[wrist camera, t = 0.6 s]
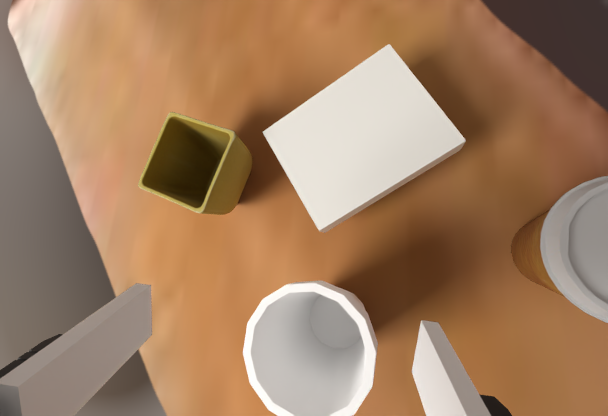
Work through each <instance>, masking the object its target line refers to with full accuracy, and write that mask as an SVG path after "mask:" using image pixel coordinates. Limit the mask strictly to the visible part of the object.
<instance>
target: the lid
mask: <svg viewBox="0 0 608 416" xmlns="http://www.w3.org/2000/svg"><path fill="white" fill-rule="evenodd" d="M263 134H264V136H265V137H266V139H267V141H268V143H269V144H270V146H271V148H272V150H273V151H274V153H275V155H276V157H277V158H278V160H279V162H280V164H281V165H282V167H283V169H284V171H285V172H286V174H287V176H288V178H289V179H290V181H291V183H292V185H293V186H294V188H295V190H296V191H297V193H298V195H299V197H300V198H301V200H302V202H303V204H304V205H305V207H306V209H307V211H308V212H309V214H310V216H311V218H312V219H313V221H314V223H315V225H316V226H317V228H318V230H319V231H321V232H324V233H325V232H327V231H329V230H330V229H332V228H334V227H335V226H337V225H338V224H340V223H342V222H343V221H345V220H347V219H348V218H350V217H352V216H353V215H355V214H356V213H358V212H360V211H361V210H363V209H365V208H366V207H368V206H370V205H371V204H373V203H375V202H376V201H378V200H379V199H381V198H383V197H384V196H386V195H388V194H389V193H391V192H393V191H394V190H396V189H398V188H399V187H401V186H402V185H404V184H406V183H407V182H409V181H411V180H412V179H414V178H416V177H417V176H419V175H420V174H422V173H424V172H425V171H427V170H429V169H430V168H432V167H434V166H435V165H437V164H439V163H440V162H442V161H443V160H445V159H447V158H448V157H450V156H452V155H453V154H455V153H457V152H458V151H460V150H461V148H462V147H463V145H464V143H465V142H466V140H465V138H464V137H463V136H462V135H461V133H460V132H459V131H458V130H457V128H456V127H455V126H454V125H453V123H452V122H451V121H450V120H449V118H448V117H447V116H446V115H445V113H444V112H443V111H442V110H441V108H440V107H439V106H438V105H437V103H436V102H435V101H434V99H433V98H432V97H431V96H430V94H429V93H428V92H427V91H426V89H425V88H424V87H423V86H422V84H421V83H420V82H419V81H418V79H417V78H416V77H415V76H414V74H413V73H412V72H411V71H410V69H409V68H408V67H407V66H406V64H405V63H404V62H403V61H402V59H401V58H400V57H399V56H398V54H397V53H396V52H395V50H394V49H393V48H392V47H391V45H390V44H388V45H387V46H385V47H384V48H382V49H381V50H379V51H378V52H377V53H375V54H374V55H372V56H371V57H369V58H368V59H367V60H365V61H364V62H362V63H361V64H359V65H358V66H356V67H355V68H354V69H352V70H351V71H349V72H348V73H346V74H345V75H344V76H342V77H341V78H339V79H338V80H336V81H335V82H333V83H332V84H331V85H329V86H328V87H326V88H325V89H323V90H322V91H320V92H319V93H318V94H316V95H315V96H313V97H312V98H310V99H309V100H308V101H306V102H305V103H303V104H302V105H300V106H299V107H297V108H296V109H295V110H293V111H292V112H290V113H289V114H287V115H286V116H285V117H283V118H282V119H280V120H279V121H277V122H276V123H274V124H273V125H272V126H270V127H269V128H267V129H266V130H264V131H263Z"/></svg>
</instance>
